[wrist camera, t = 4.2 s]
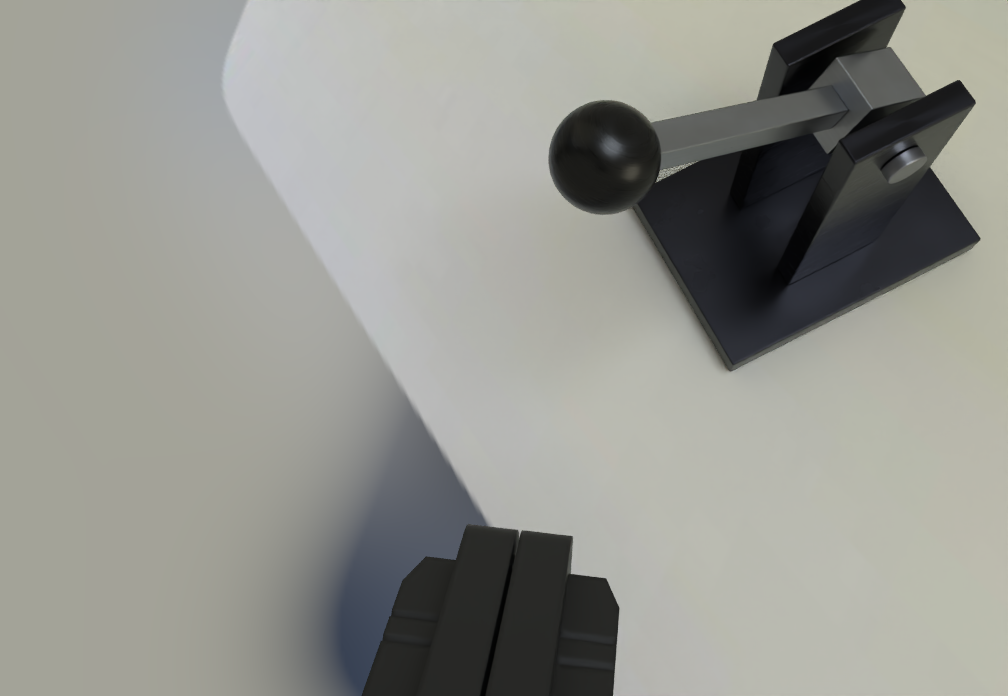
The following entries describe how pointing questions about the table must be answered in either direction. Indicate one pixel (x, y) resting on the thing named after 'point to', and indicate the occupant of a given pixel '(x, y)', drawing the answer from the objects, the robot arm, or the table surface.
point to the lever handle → (717, 130)
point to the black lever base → (811, 205)
